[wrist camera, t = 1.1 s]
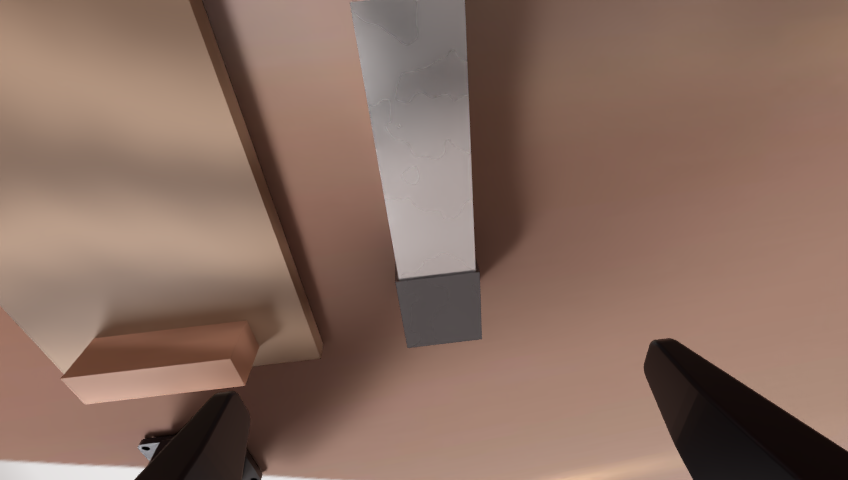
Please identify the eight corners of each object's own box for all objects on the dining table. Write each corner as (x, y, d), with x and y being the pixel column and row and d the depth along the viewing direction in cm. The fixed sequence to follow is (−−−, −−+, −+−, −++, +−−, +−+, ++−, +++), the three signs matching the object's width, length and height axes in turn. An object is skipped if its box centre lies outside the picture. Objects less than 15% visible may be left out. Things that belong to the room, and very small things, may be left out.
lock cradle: (323, 345, 24) (313, 397, 21) (87, 372, 24) (44, 428, 21) (96, -297, 10) (-22, -405, 7) (-441, -229, 10) (-769, -308, 7)
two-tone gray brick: (469, 287, 22) (481, 339, 19) (405, 295, 22) (407, 347, 19) (453, -16, 14) (470, -13, 11) (354, -4, 14) (344, 3, 11)
